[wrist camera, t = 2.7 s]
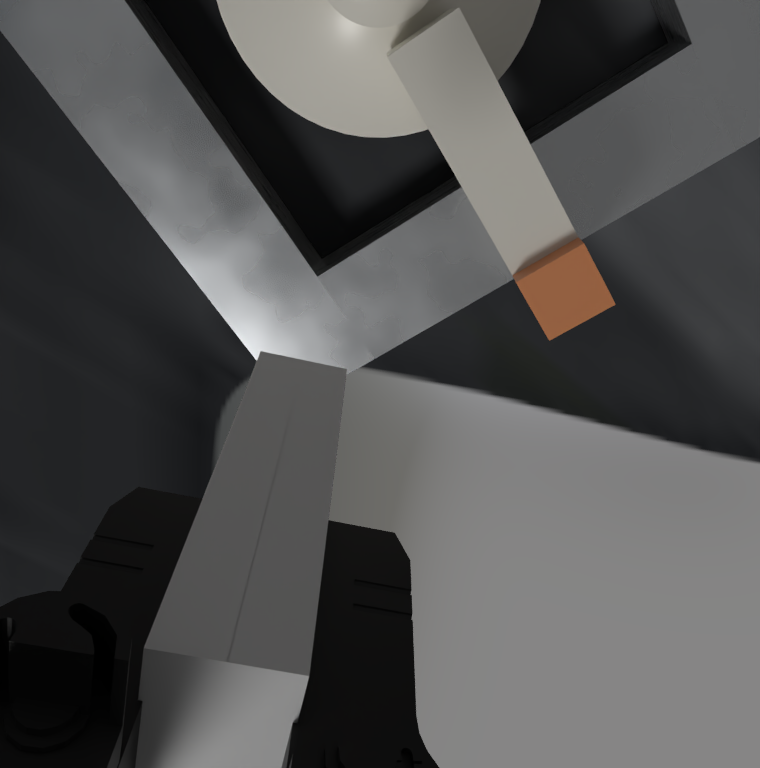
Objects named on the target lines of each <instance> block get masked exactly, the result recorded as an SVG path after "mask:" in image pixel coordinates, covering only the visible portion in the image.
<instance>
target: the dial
mask: <svg viewBox="0 0 760 768" xmlns="http://www.w3.org/2000/svg"><path fill="white" fill-rule="evenodd" d="M540 2H541V0H217V3H218V7H219V10H220V13H221V17H222V19H223V21H224V24H225V26H226V28H227V31H228V33H229V35H230V38H231V40H232V42H233V43H234V45H235V47H236V48H237V50H238V52H239V54H240V55H241V57H242V59H243V60H244V62H245V63H246V64H247V66H248V67H249V68H250V70H251V71H252V73H253V74H254V75H255V77H256V78H257V79H258V80H259V81H260V82H261V83H262V84H263V85H264V86H265V87H266V88H267V90H268V91H269V92H270V93H271V94H272V95H274V96H275V97H276V98H277V99H278V100H280V101H281V102H282V103H283V104H284V105H286V106H287V107H288V108H290V109H291V110H293V111H294V112H296V113H298V114H299V115H301V116H302V117H304V118H305V119H307V120H309V121H312V122H314V123H316V124H318V125H320V126H323V127H325V128H328V129H331V130H334V131H337V132H341V133H344V134H349V135H355V136H361V137H381V138H386V137H395V136H404V135H408V134H412V133H416V132H420V131H424V130H427V129H429V131H430V133H431V134H432V136H433V138H434V140H435V141H436V143H437V145H438V147H439V148H440V150H441V152H442V154H443V155H444V157H445V159H446V161H447V162H448V164H449V166H450V167H451V169H452V171H453V173H454V174H455V176H456V178H457V180H458V181H459V183H460V185H461V187H462V188H463V190H464V192H465V194H466V195H467V197H468V199H469V201H470V202H471V204H472V206H473V208H474V209H475V211H476V213H477V215H478V216H479V218H480V220H481V222H482V223H483V225H484V227H485V229H486V230H487V232H488V234H489V236H490V237H491V239H492V241H493V243H494V244H495V246H496V248H497V250H498V251H499V253H500V255H501V256H502V258H503V260H504V262H505V263H506V265H507V267H508V269H509V270H510V272H511V274H512V276H513V278H514V280H515V282H516V283H517V285H518V287H519V289H520V290H521V292H522V294H523V296H524V297H525V299H526V301H527V303H528V304H529V306H530V308H531V310H532V311H533V313H534V315H535V317H536V318H537V320H538V322H539V324H540V325H541V327H542V329H543V330H544V332H545V334H546V336H547V337H548V339H549V341H550V340H551V339H553V338H555V337H557V336H559V335H561V334H562V333H564V332H566V331H568V330H570V329H572V328H573V327H575V326H577V325H579V324H581V323H583V322H584V321H586V320H588V319H590V318H592V317H593V316H595V315H597V314H599V313H601V312H603V311H604V310H606V309H608V308H610V307H612V306H614V305H615V302H614V300H613V298H612V296H611V295H610V293H609V291H608V289H607V287H606V285H605V283H604V281H603V279H602V277H601V275H600V273H599V271H598V269H597V267H596V266H595V264H594V262H593V260H592V258H591V256H590V254H589V252H588V250H587V248H586V246H585V244H584V243H583V242H582V241H581V239H580V238H579V237H578V235H577V233H576V232H575V230H574V228H573V226H572V224H571V222H570V220H569V218H568V216H567V214H566V212H565V210H564V208H563V206H562V205H561V203H560V201H559V199H558V197H557V195H556V193H555V191H554V189H553V187H552V185H551V183H550V181H549V179H548V178H547V176H546V174H545V172H544V170H543V168H542V166H541V164H540V162H539V160H538V158H537V156H536V154H535V152H534V151H533V149H532V147H531V145H530V143H529V141H528V139H527V137H526V135H525V133H524V131H523V129H522V127H521V125H520V124H519V122H518V120H517V118H516V116H515V114H514V112H513V110H512V108H511V106H510V104H509V102H508V100H507V99H506V97H505V95H504V93H503V91H502V89H501V87H500V85H499V83H498V80H499V79H500V78H501V76H502V75H503V74H504V73H505V72H506V70H507V69H508V68H509V67H510V65H511V63H512V62H513V60H514V59H515V57H516V56H517V54H518V52H519V51H520V49H521V48H522V46H523V44H524V42H525V40H526V37H527V35H528V33H529V31H530V29H531V27H532V25H533V22H534V19H535V16H536V13H537V10H538V8H539V5H540Z"/></svg>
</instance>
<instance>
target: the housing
mask: <svg viewBox="0 0 760 768" xmlns="http://www.w3.org/2000/svg"><path fill="white" fill-rule="evenodd" d="M650 1H651V3H652V5H653V8H654V10H655V13H656V15H657V18H658V20H659V22H660V25H661V27H662V30H663V32H664V34H665V37H666V39H667V43H665V44H664V45H662V46H661V47H659V48H657V49H656V50H654V51H653V52H651V53H649V54H648V55H646V56H645V57H643V58H641V59H640V60H638V61H637V62H635V63H633V64H632V65H630V66H629V67H627V68H626V69H624V70H622V71H621V72H619V73H618V74H616V75H614V76H613V77H611V78H610V79H608V80H606V81H605V82H603V83H602V84H600V85H598V86H597V87H595V88H594V89H592V90H590V91H589V92H587V93H586V94H584V95H583V96H581V97H579V98H578V99H576V100H575V101H573V102H571V103H570V104H568V105H567V106H565V107H563V108H562V109H560V110H559V111H557V112H555V113H554V114H552V115H551V116H549V117H547V118H546V119H544V120H543V121H541V122H540V123H538V124H536V125H535V126H533V127H532V128H530V129H528V130H527V131H525V132H524V133H525V135H526V137H527V139H528V141H529V143H530V145H531V147H532V149H533V151H534V152H535V154H536V156H537V158H538V160H539V162H540V164H541V166H542V168H543V170H544V172H545V174H546V176H547V178H548V179H549V181H550V183H551V185H552V187H553V189H554V191H555V193H556V195H557V197H558V199H559V201H560V203H561V205H562V206H563V208H564V210H565V212H566V214H567V216H568V218H569V220H570V222H571V224H572V226H573V228H574V230H575V232H576V233H577V235H578V237H579V238H580V239H581V240H582V239H584V238H585V237H587V236H589V235H590V234H592V233H594V232H596V231H597V230H599V229H601V228H603V227H604V226H606V225H608V224H610V223H611V222H613V221H615V220H616V219H618V218H620V217H622V216H623V215H625V214H627V213H629V212H630V211H632V210H634V209H636V208H637V207H639V206H641V205H643V204H644V203H646V202H648V201H649V200H651V199H653V198H655V197H656V196H658V195H660V194H662V193H663V192H665V191H667V190H669V189H670V188H672V187H674V186H676V185H677V184H679V183H681V182H682V181H684V180H686V179H688V178H689V177H691V176H693V175H695V174H696V173H698V172H700V171H702V170H703V169H705V168H707V167H709V166H710V165H712V164H714V163H715V162H717V161H719V160H721V159H722V158H724V157H726V156H728V155H729V154H731V153H733V152H735V151H736V150H738V149H740V148H742V147H743V146H745V145H747V144H748V143H750V142H752V141H754V140H755V139H757V138H759V137H760V0H650ZM0 31H1V32H2V33H3V35H4V36H5V37H6V38H7V40H8V41H9V42H10V44H11V45H12V46H13V47H14V49H15V50H16V51H17V53H18V54H19V55H20V56H21V58H22V59H23V60H24V62H25V63H26V64H27V65H28V67H29V68H30V69H31V71H32V72H33V73H34V74H35V76H36V77H37V78H38V80H39V81H40V82H41V83H42V85H43V86H44V87H45V89H46V90H47V91H48V92H49V94H50V95H51V96H52V98H53V99H54V100H55V102H56V103H57V104H58V105H59V107H60V108H61V109H62V111H63V112H64V113H65V114H66V116H67V117H68V118H69V120H70V121H71V122H72V123H73V125H74V126H75V127H76V129H77V130H78V131H79V132H80V134H81V135H82V136H83V138H84V139H85V140H86V141H87V143H88V144H89V145H90V147H91V148H92V149H93V150H94V152H95V153H96V154H97V156H98V157H99V158H100V159H101V161H102V162H103V163H104V165H105V166H106V167H107V168H108V170H109V171H110V172H111V174H112V175H113V176H114V177H115V179H116V180H117V181H118V183H119V184H120V185H121V187H122V188H123V189H124V190H125V192H126V193H127V194H128V196H129V197H130V198H131V199H132V201H133V202H134V203H135V205H136V206H137V207H138V208H139V210H140V211H141V212H142V214H143V215H144V216H145V217H146V219H147V220H148V221H149V223H150V224H151V225H152V226H153V228H154V229H155V230H156V232H157V233H158V234H159V235H160V237H161V238H162V239H163V241H164V242H165V243H166V244H167V246H168V247H169V248H170V250H171V251H172V252H173V253H174V255H175V256H176V257H177V259H178V260H179V261H180V263H181V264H182V265H183V266H184V268H185V269H186V270H187V272H188V273H189V274H190V275H191V277H192V278H193V279H194V281H195V282H196V283H197V284H198V286H199V287H200V288H201V290H202V291H203V292H204V293H205V295H206V296H207V297H208V299H209V300H210V301H211V302H212V304H213V305H214V306H215V308H216V309H217V310H218V311H219V313H220V314H221V315H222V317H223V318H224V319H225V320H226V322H227V323H228V324H229V326H230V327H231V328H232V329H233V331H234V332H235V333H236V335H237V336H238V337H239V338H240V340H241V341H242V342H243V344H244V345H245V346H246V348H247V349H248V350H249V351H250V353H251V354H252V355H253V357H254V358H255V359H256V360H257V359H258V357H259V354H260V352H261V351H263V352H268V353H272V354H277V355H282V356H287V357H292V358H296V359H301V360H306V361H311V362H316V363H320V364H325V365H330V366H335V367H340V368H344V369H347V373H346V375H347V374H349V373H351V372H353V371H354V370H356V369H358V368H360V367H361V366H363V365H365V364H366V363H368V362H370V361H372V360H373V359H375V358H377V357H379V356H380V355H382V354H384V353H386V352H387V351H389V350H391V349H393V348H394V347H396V346H398V345H399V344H401V343H403V342H405V341H406V340H408V339H410V338H412V337H413V336H415V335H417V334H419V333H420V332H422V331H424V330H425V329H427V328H429V327H431V326H432V325H434V324H436V323H438V322H439V321H441V320H443V319H445V318H446V317H448V316H450V315H452V314H453V313H455V312H457V311H458V310H460V309H462V308H464V307H465V306H467V305H469V304H471V303H472V302H474V301H476V300H478V299H479V298H481V297H483V296H485V295H486V294H488V293H490V292H491V291H493V290H495V289H497V288H498V287H500V286H502V285H504V284H505V283H507V282H509V281H511V280H512V279H514V278H513V276H512V274H511V272H510V270H509V269H508V267H507V265H506V263H505V262H504V260H503V258H502V256H501V255H500V253H499V251H498V250H497V248H496V246H495V244H494V243H493V241H492V239H491V237H490V236H489V234H488V232H487V230H486V229H485V227H484V225H483V223H482V222H481V220H480V218H479V216H478V215H477V213H476V211H475V209H474V208H473V206H472V204H471V202H470V201H469V199H468V197H467V195H466V194H465V192H464V190H463V188H462V187H461V185H460V183H459V181H458V180H457V178H456V176H453V177H452V178H450V179H449V180H447V181H446V182H444V183H442V184H441V185H439V186H438V187H436V188H434V189H433V190H431V191H430V192H428V193H426V194H425V195H423V196H422V197H420V198H418V199H417V200H415V201H414V202H412V203H410V204H409V205H407V206H406V207H404V208H403V209H401V210H399V211H398V212H396V213H395V214H393V215H391V216H390V217H388V218H387V219H385V220H383V221H382V222H380V223H379V224H377V225H375V226H374V227H372V228H371V229H369V230H367V231H366V232H364V233H363V234H361V235H360V236H358V237H356V238H355V239H353V240H352V241H350V242H348V243H347V244H345V245H344V246H342V247H340V248H339V249H337V250H336V251H334V252H332V253H331V254H329V255H328V256H326V257H324V258H323V259H321V257H320V256H319V254H318V253H317V251H316V250H315V248H314V247H313V245H312V244H311V243H310V241H309V240H308V238H307V237H306V235H305V234H304V232H303V231H302V229H301V228H300V227H299V225H298V224H297V222H296V221H295V219H294V218H293V216H292V215H291V213H290V212H289V210H288V209H287V208H286V206H285V205H284V203H283V202H282V200H281V199H280V197H279V196H278V194H277V193H276V192H275V190H274V189H273V187H272V186H271V184H270V183H269V181H268V180H267V178H266V177H265V176H264V174H263V173H262V171H261V170H260V168H259V167H258V165H257V164H256V162H255V161H254V159H253V158H252V157H251V155H250V154H249V152H248V151H247V149H246V148H245V146H244V145H243V143H242V142H241V141H240V139H239V138H238V136H237V135H236V133H235V132H234V130H233V129H232V127H231V126H230V125H229V123H228V122H227V120H226V119H225V117H224V116H223V114H222V113H221V111H220V110H219V108H218V107H217V106H216V104H215V103H214V101H213V100H212V98H211V97H210V95H209V94H208V92H207V91H206V90H205V88H204V87H203V85H202V84H201V82H200V81H199V79H198V78H197V76H196V75H195V74H194V72H193V71H192V69H191V68H190V66H189V65H188V63H187V62H186V60H185V59H184V57H183V56H182V55H181V53H180V52H179V50H178V49H177V47H176V46H175V44H174V43H173V41H172V40H171V39H170V37H169V36H168V34H167V33H166V31H165V30H164V28H163V27H162V25H161V24H160V23H159V21H158V20H157V18H156V17H155V15H154V14H153V12H152V11H151V9H150V8H149V6H148V5H147V4H146V2H145V1H144V0H0Z"/></svg>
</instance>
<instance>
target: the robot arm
mask: <svg viewBox="0 0 760 768" xmlns="http://www.w3.org/2000/svg"><path fill="white" fill-rule="evenodd" d="M346 373H347V369H344V368H340V367H335V366H330V365H325V364H320V363H316V362H311V361H306V360H301V359H296V358H292V357H287V356H282V355H277V354H272V353H268V352H263V351H261V352H260V354H259V357H258V359H257V362H256V364H255V367H254V369H253V372H252V374H251V377H250V380H249V382H248V385H247V387H246V390H245V392H244V395H243V398H242V400H241V403H240V405H239V408H238V410H237V413H236V415H235V418H234V420H233V423H232V426H231V428H230V430H229V433H228V435H227V438H226V440H225V443H224V446H223V448H222V451H221V453H220V456H219V458H218V461H217V463H216V466H215V468H214V471H213V473H212V476H211V479H210V481H209V484H208V486H207V489H206V491H205V494H204V496H203V499H200V498H194V497H189V496H184V495H178V494H173V493H168V492H163V491H157V490H152V489H147V488H141V487H138V488H136V489H135V490H133V491H132V492H131V493H129V494H128V495H126V496H125V497H123V498H122V499H121V500H119V501H118V502H116V503H115V504H113V505H112V506H110V507H109V509H108V511H107V513H106V514H105V516H104V518H103V519H102V521H101V523H100V525H99V526H98V528H97V530H96V532H95V533H94V537H93V540H90V542H89V544H88V545H87V547H86V549H85V551H84V552H83V554H82V556H81V558H80V562H79V563H77V564H76V566H75V568H74V570H73V571H72V573H71V575H70V576H69V578H68V580H67V582H66V583H65V585H64V587H63V589H62V590H61V591H47V592H42V593H38V594H34V595H29V596H25V597H20V598H17V599H15V600H13V601H11V602H9V603H7V604H5V605H3V606H1V607H0V768H439V767H438V765H437V764H436V763H435V761H434V760H433V759H432V757H431V756H430V754H429V753H428V751H427V749H426V747H425V745H424V743H423V740H422V738H421V736H420V734H419V729H418V723H417V718H416V699H415V675H414V674H415V673H414V647H413V622H412V620H411V617H412V596H411V595H410V594H411V569H410V559H409V558H408V556H407V554H406V552H405V550H404V549H403V547H402V545H401V543H400V541H399V540H398V538H397V536H396V534H395V533H393V532H386V531H382V530H377V529H371V528H366V527H361V526H355V525H350V524H345V523H340V522H334V521H329V520H328V519H329V512H330V503H331V495H332V487H333V479H334V471H335V463H336V455H337V446H338V438H339V430H340V422H341V414H342V406H343V397H344V390H345V382H346V381H345V380H346Z"/></svg>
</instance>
